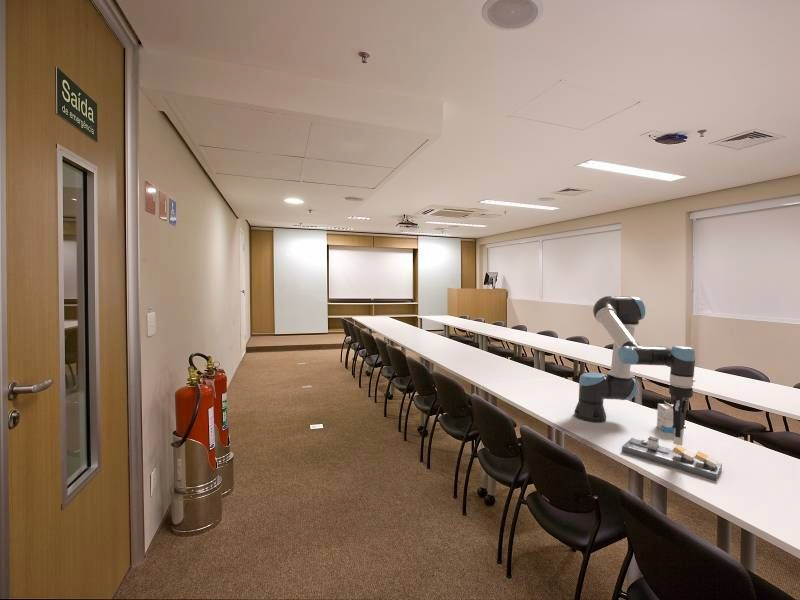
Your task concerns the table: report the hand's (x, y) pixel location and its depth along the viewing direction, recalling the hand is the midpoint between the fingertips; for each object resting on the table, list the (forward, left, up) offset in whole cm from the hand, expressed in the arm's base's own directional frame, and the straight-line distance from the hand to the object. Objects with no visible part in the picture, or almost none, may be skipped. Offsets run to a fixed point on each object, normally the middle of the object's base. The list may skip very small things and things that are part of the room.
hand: (677, 444), depth 152 cm
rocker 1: (+2, 0, -3) cm, 4 cm away
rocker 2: (+9, 0, -3) cm, 10 cm away
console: (-2, 0, -8) cm, 8 cm away
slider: (-8, 0, -5) cm, 9 cm away
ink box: (-10, +40, -8) cm, 42 cm away
